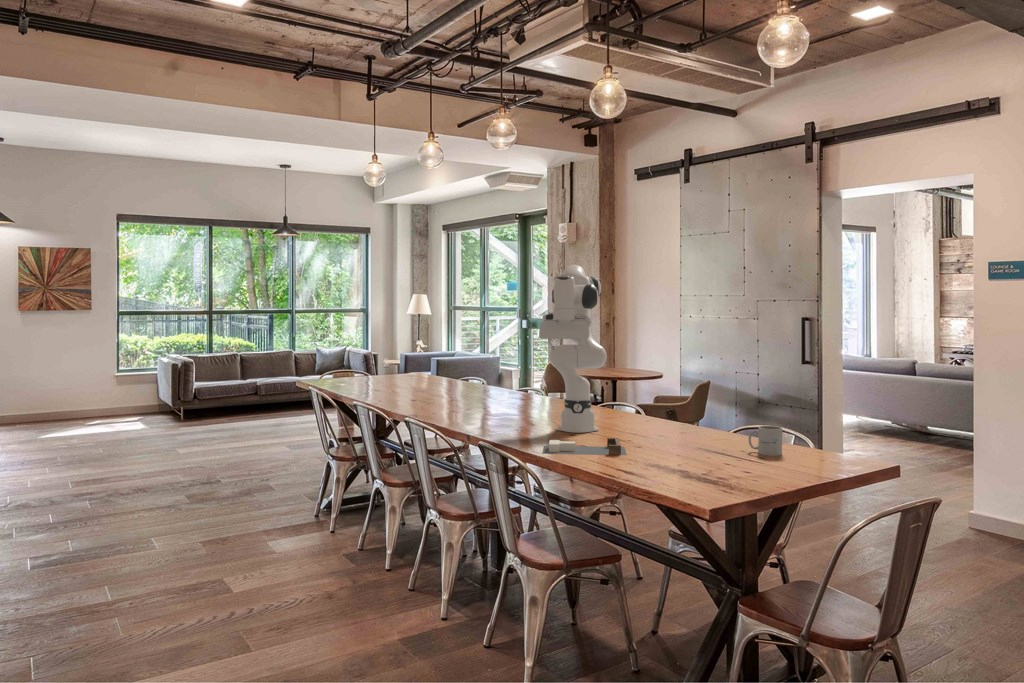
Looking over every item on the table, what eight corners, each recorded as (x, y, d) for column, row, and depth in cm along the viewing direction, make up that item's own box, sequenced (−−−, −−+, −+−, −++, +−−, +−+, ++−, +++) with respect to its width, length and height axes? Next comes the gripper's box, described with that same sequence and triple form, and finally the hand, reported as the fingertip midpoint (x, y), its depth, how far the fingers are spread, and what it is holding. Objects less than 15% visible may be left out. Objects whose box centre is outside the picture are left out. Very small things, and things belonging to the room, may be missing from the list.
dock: (607, 446, 299) (607, 437, 299) (618, 446, 298) (618, 438, 298) (608, 454, 283) (608, 445, 283) (620, 454, 282) (621, 445, 282)
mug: (785, 453, 287) (786, 427, 287) (775, 456, 281) (776, 430, 281) (755, 449, 296) (755, 423, 295) (745, 452, 290) (745, 426, 289)
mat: (543, 446, 301) (543, 445, 301) (624, 448, 298) (624, 446, 298) (542, 454, 285) (542, 453, 285) (626, 456, 282) (626, 454, 282)
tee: (549, 447, 297) (549, 439, 297) (575, 447, 296) (575, 440, 296) (548, 451, 288) (548, 444, 288) (575, 452, 287) (575, 444, 287)
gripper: (590, 316, 303) (590, 350, 304) (539, 316, 305) (539, 349, 305) (590, 315, 297) (590, 350, 297) (539, 315, 299) (538, 350, 299)
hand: (564, 350), depth 301 cm, fingers open, 8 cm apart
